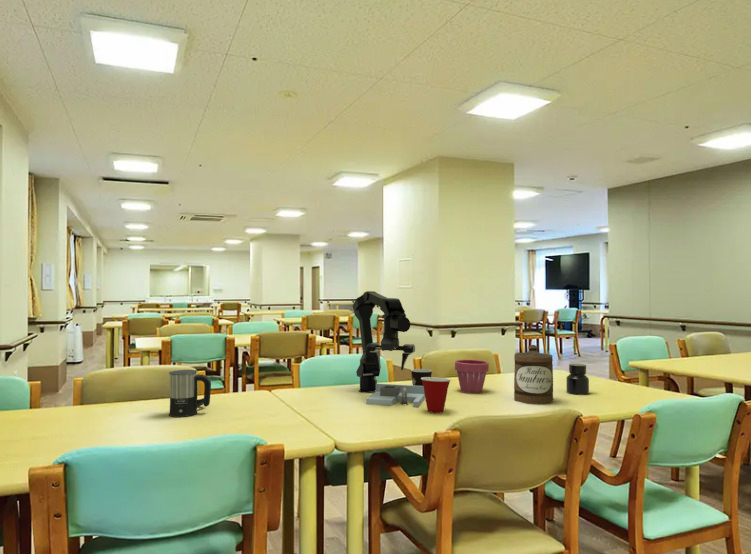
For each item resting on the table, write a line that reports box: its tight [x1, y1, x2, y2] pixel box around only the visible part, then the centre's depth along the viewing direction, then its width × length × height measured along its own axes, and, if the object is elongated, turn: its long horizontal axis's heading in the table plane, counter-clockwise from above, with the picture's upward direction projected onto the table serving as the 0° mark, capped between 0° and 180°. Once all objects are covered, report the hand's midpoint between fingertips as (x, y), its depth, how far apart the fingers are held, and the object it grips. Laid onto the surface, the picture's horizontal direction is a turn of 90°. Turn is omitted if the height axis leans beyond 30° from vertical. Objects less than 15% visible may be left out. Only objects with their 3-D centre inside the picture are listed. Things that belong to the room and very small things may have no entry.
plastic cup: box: [421, 376, 452, 414], centre depth 192 cm, size 11×11×12 cm
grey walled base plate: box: [365, 383, 425, 408], centre depth 207 cm, size 20×16×5 cm
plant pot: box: [454, 359, 490, 394], centre depth 229 cm, size 14×14×13 cm
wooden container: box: [513, 344, 554, 405], centre depth 211 cm, size 15×15×22 cm
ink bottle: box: [566, 363, 590, 395], centre depth 227 cm, size 10×9×12 cm
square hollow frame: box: [380, 385, 400, 397], centre depth 210 cm, size 6×6×3 cm
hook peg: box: [401, 388, 408, 405], centre depth 202 cm, size 2×2×6 cm
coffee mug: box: [410, 368, 433, 386], centre depth 222 cm, size 12×9×10 cm
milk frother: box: [168, 369, 212, 418], centre depth 188 cm, size 14×16×15 cm
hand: (390, 369), depth 210 cm, fingers open, 9 cm apart
